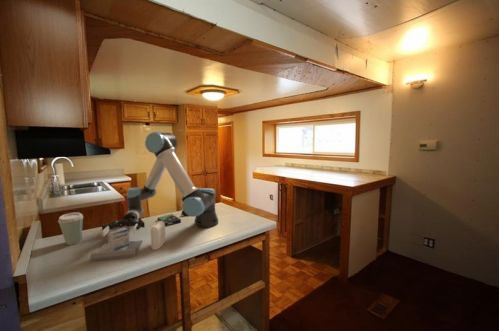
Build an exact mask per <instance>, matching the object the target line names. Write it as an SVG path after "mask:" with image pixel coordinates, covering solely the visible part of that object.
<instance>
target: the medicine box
mask: <svg viewBox="0 0 499 331" xmlns="http://www.w3.org/2000/svg"><path fill="white" fill-rule="evenodd" d="M129 236H130V234H129V228H127V227H125V226H123V227H119V228H118V229H115V230H110V231H109V232H108V233H107V240H108V243H109V249H110V250H112V251H114V250H119V249H121V248H123V247H126V246H128V245H129V242H130V237H129ZM108 243H107V244H108Z"/></svg>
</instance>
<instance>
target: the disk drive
mask: <svg viewBox="0 0 499 331" xmlns="http://www.w3.org/2000/svg"><path fill="white" fill-rule="evenodd" d="M157 221H163V222H164V223H165V227H169V226H174V225H177V224H180V223H182V219H181V218H179V217H178V216H176V215H174V214H167V215H164V216H157Z"/></svg>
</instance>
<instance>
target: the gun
mask: <svg viewBox="0 0 499 331" xmlns="http://www.w3.org/2000/svg"><path fill="white" fill-rule="evenodd" d="M183 215H184V216H183ZM180 216H183V217H187V216H188V215H187V214H186V213H185V212H184V210H183V209H182V210H181V214H180Z"/></svg>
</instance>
